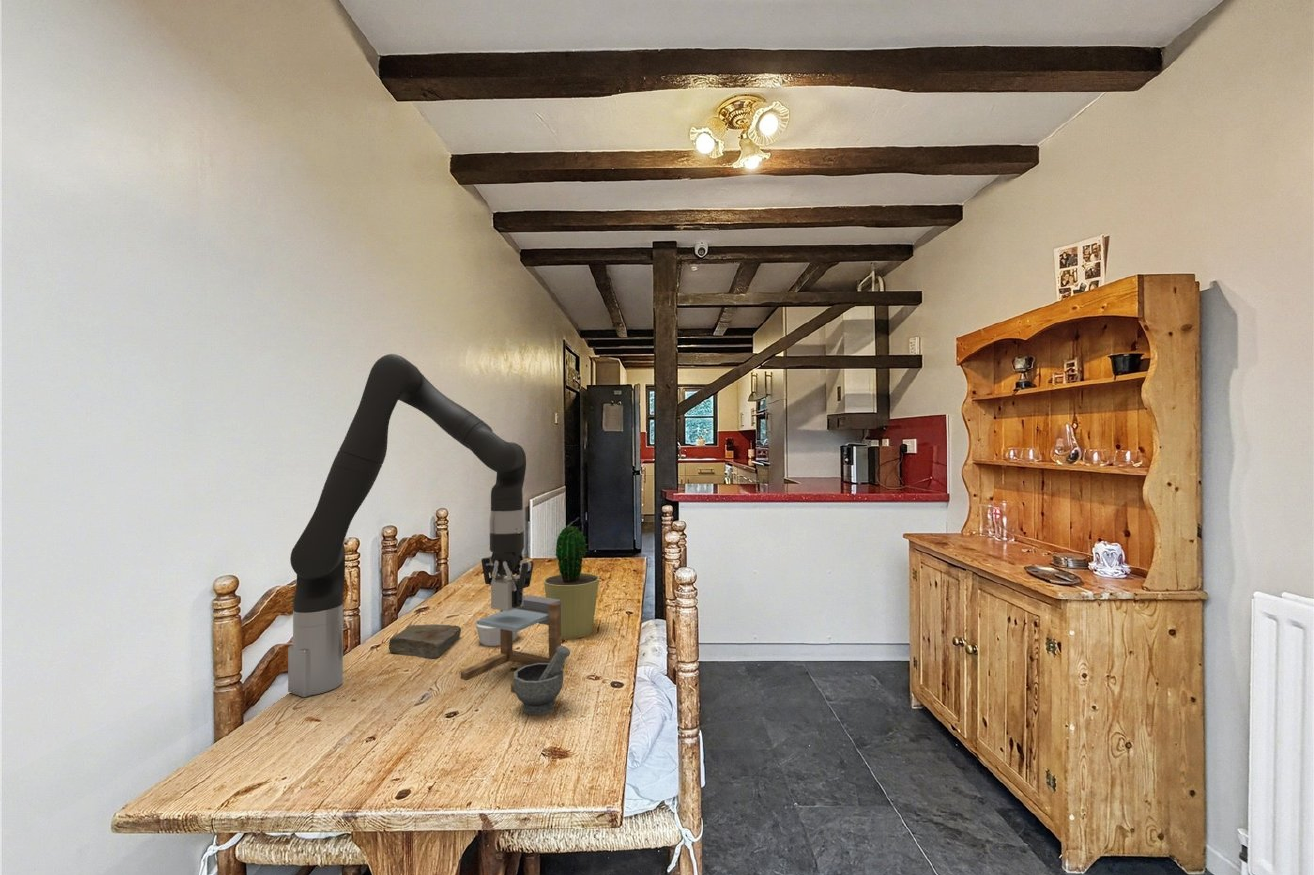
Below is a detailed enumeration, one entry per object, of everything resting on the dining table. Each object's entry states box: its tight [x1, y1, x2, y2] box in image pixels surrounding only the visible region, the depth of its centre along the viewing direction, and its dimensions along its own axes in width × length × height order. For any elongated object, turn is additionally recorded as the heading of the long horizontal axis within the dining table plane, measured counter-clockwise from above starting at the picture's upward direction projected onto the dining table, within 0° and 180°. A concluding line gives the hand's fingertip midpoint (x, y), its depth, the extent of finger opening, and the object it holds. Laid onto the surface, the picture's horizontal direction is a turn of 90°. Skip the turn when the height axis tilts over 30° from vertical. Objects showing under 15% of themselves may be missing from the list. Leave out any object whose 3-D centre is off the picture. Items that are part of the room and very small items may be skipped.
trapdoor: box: [476, 594, 562, 633], centre depth 125 cm, size 16×12×5 cm
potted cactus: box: [543, 525, 600, 640], centre depth 150 cm, size 15×15×30 cm
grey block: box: [490, 576, 524, 611], centre depth 122 cm, size 5×5×6 cm
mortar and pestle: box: [513, 644, 571, 716], centre depth 105 cm, size 11×9×12 cm
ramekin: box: [475, 623, 519, 647], centre depth 144 cm, size 11×11×5 cm
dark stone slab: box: [388, 623, 462, 659], centre depth 140 cm, size 17×15×4 cm
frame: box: [460, 602, 565, 693], centre depth 122 cm, size 15×17×15 cm
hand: (507, 605), depth 121 cm, fingers closed on grey block, 5 cm apart
